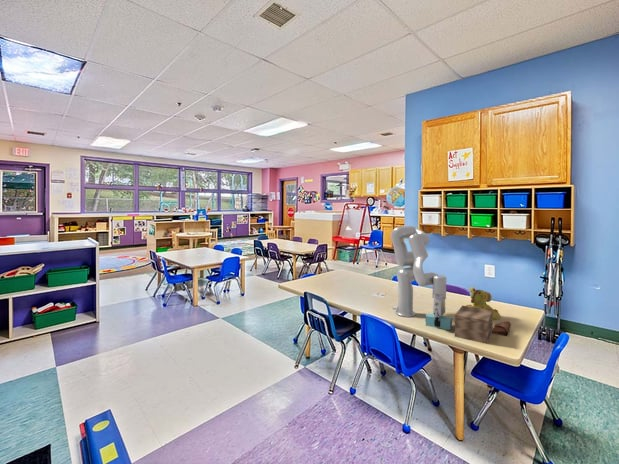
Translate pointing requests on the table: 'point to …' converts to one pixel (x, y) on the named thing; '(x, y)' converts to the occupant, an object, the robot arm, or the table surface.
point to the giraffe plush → (482, 301)
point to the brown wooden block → (473, 324)
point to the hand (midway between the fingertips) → (438, 324)
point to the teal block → (444, 321)
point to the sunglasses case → (502, 328)
